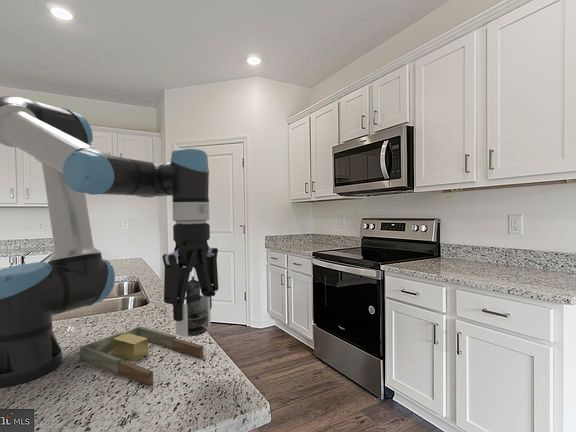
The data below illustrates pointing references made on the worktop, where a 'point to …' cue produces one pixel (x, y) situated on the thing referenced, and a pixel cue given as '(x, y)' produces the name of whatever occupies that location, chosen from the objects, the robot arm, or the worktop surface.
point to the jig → (113, 364)
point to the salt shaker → (195, 309)
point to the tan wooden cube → (135, 347)
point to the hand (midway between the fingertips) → (193, 329)
